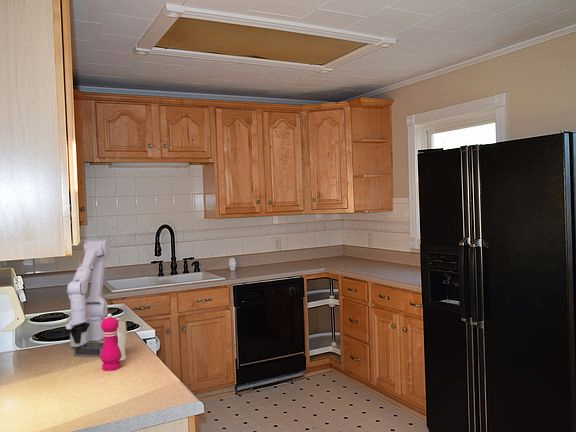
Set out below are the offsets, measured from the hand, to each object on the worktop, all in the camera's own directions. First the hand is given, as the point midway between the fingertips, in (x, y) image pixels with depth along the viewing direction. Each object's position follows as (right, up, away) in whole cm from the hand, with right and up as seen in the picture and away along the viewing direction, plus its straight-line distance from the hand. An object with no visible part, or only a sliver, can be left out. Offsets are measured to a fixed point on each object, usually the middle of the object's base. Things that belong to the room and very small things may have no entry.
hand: (79, 342), depth 209 cm
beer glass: (+21, -3, -16) cm, 27 cm away
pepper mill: (+23, -3, -27) cm, 35 cm away
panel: (0, -2, 0) cm, 2 cm away
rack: (+9, -3, -7) cm, 12 cm away
